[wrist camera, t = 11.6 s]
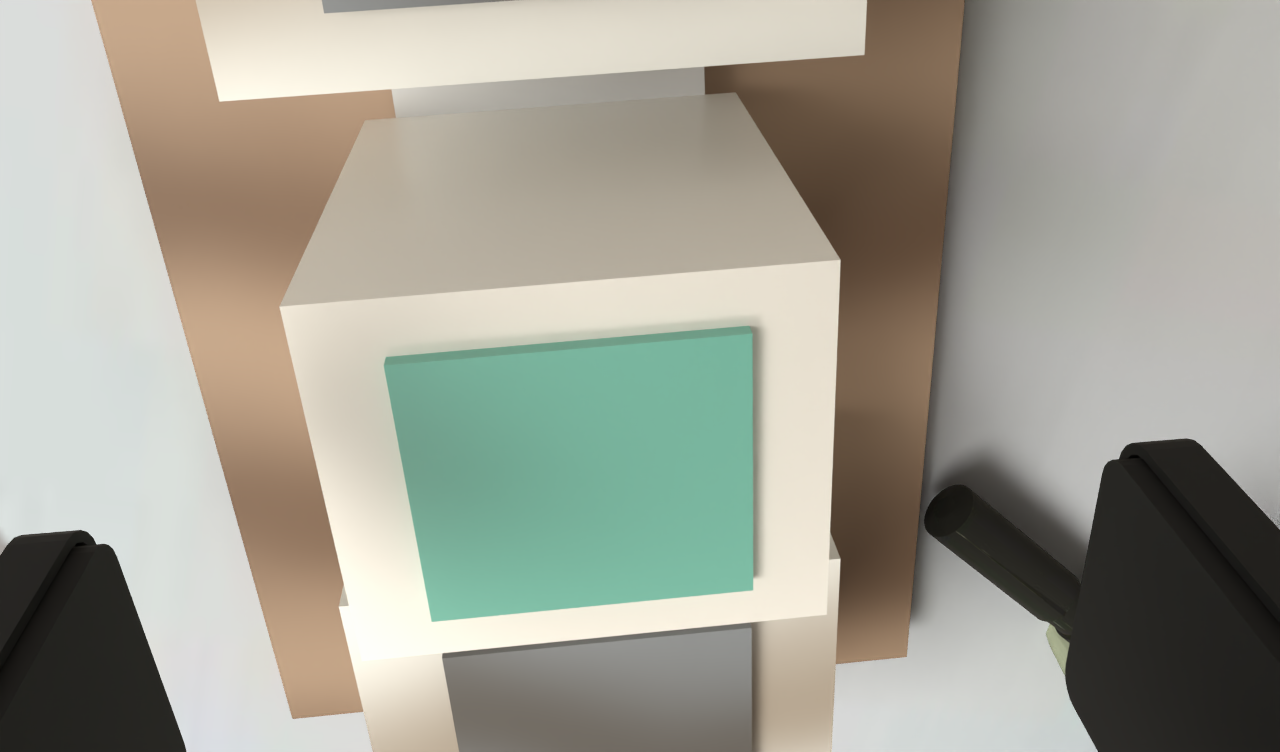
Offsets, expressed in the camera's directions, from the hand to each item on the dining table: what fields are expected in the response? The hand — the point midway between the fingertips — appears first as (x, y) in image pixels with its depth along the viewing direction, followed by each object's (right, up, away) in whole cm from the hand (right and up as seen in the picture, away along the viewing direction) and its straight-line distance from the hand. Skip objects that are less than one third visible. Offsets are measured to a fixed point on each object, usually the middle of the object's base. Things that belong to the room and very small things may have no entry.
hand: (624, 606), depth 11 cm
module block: (-1, +4, +9) cm, 10 cm away
